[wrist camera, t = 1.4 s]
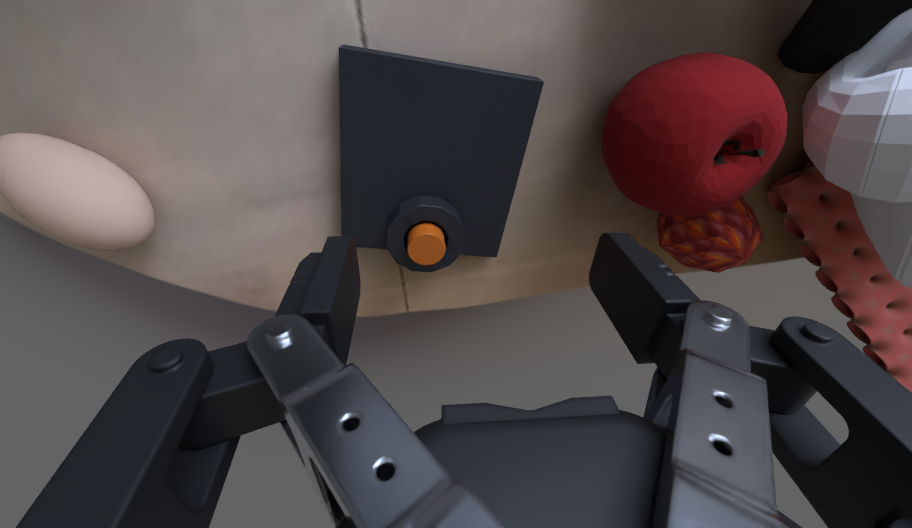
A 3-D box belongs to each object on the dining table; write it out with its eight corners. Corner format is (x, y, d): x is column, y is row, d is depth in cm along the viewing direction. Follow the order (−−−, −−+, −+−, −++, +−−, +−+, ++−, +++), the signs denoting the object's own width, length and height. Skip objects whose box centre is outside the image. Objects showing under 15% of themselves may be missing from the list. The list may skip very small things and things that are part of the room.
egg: (108, 278, 24) (-47, 186, 21) (171, 223, 27) (45, 134, 24) (114, 261, 21) (-73, 147, 17) (185, 200, 24) (40, 92, 20)
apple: (554, 148, 26) (620, 215, 18) (644, 12, 22) (783, 20, 14) (646, 199, 30) (736, 274, 21) (739, 88, 25) (896, 131, 17)
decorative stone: (655, 251, 33) (716, 312, 26) (620, 203, 30) (680, 258, 23) (724, 205, 31) (809, 257, 24) (694, 147, 28) (783, 190, 21)
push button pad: (491, 255, 31) (498, 276, 29) (344, 244, 29) (338, 266, 27) (537, 77, 24) (552, 86, 21) (342, 44, 21) (334, 50, 19)
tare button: (441, 254, 28) (442, 266, 26) (406, 252, 27) (406, 264, 26) (446, 224, 26) (448, 235, 25) (409, 220, 26) (409, 232, 24)
